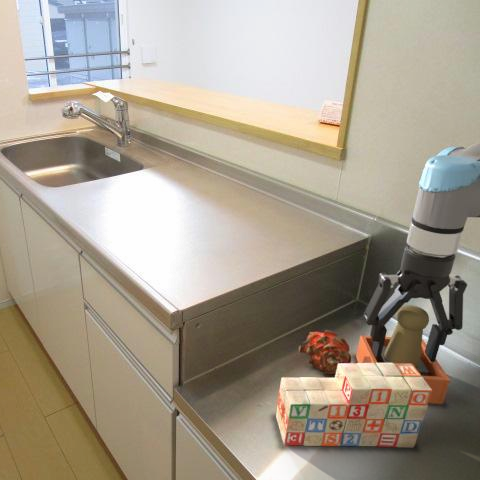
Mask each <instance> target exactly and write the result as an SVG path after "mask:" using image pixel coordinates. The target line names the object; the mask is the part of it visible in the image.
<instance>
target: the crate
mask: <svg viewBox="0 0 480 480" xmlns="http://www.w3.org/2000/svg"><path fill="white" fill-rule="evenodd" d="M391 337H392V336H386V337H385V341H384V345H383V346H388V344H389V342H390V339H391ZM426 345H427V342H426V341H425V340H424V339H423V338H422V344H421V355H420V359H421V360H422V362H423V363H424V365H425V367H426V368H427V370H428V371H429V373H428V376H421V377H423V378H424V380H425V381H426V383H427V384H428V385H429V387H430V388H431V389H432V392H431V395H430V398H429V401H428V404H434V405H444V402H445V398H446V395H447V392H448V389H449V386H450V384H451V379H450V377H449V376H448V375H447V373H446V371H445V370H444V369H443V367H442V365H441V364H440V363H439V361H438V359H437V358H436V359H435V362H430V360H429V359H428V357H427V356H426V354H425V349H426ZM372 346H373V340H372V338H371V336H370V335H360V336H359V342H358V346H357V350H356V355H355V358H356V360H357V363H378V362H377V360H376V358H375V355H374V353H373V351H372Z"/></svg>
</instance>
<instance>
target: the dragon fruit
mask: <svg viewBox="0 0 480 480" xmlns="http://www.w3.org/2000/svg"><path fill="white" fill-rule="evenodd" d="M306 336H307V337H306V340H305V341H302V344H306V345H299V346H298V352H299V353H301V354H306V355H308V356H310V358H309V360H308V364H309V365H310V366H311V368H313V369H314V368H316V369H319V371H320V372H322V373H323V374H325V375H332V374H333V375H334V376H335V375H336V371H337V366H338V364H339V363H352V355H351V353H349V352H350V346H349V344H348V342H347V340H346V339H345V338H340V337H339V336H338V335H337V333H335V332H333V331H332V330H329V329H325V330H324V331H323V332H322V331H321V332H320V331H309V332H308V333H307V334H306Z"/></svg>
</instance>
